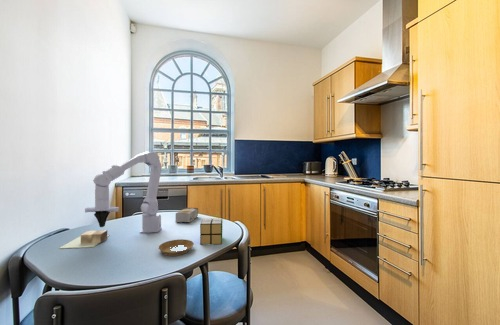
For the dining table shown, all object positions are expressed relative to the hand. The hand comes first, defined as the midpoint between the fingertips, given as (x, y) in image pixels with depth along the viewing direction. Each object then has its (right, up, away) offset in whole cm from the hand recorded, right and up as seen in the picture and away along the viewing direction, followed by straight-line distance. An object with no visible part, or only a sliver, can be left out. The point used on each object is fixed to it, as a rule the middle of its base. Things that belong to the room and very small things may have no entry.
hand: (102, 226), depth 112 cm
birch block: (+1, -5, 0) cm, 5 cm away
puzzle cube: (+53, -8, +1) cm, 54 cm away
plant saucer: (+40, -8, -11) cm, 42 cm away
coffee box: (+30, -3, +31) cm, 43 cm away
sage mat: (-7, -7, -1) cm, 10 cm away
